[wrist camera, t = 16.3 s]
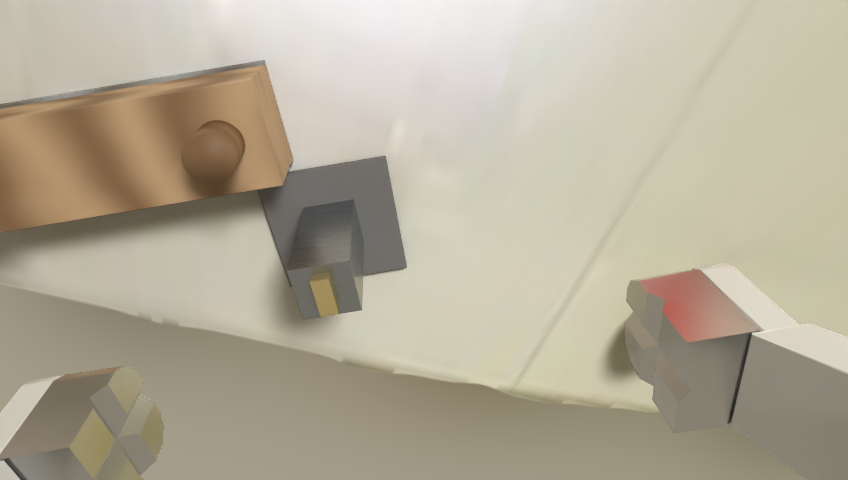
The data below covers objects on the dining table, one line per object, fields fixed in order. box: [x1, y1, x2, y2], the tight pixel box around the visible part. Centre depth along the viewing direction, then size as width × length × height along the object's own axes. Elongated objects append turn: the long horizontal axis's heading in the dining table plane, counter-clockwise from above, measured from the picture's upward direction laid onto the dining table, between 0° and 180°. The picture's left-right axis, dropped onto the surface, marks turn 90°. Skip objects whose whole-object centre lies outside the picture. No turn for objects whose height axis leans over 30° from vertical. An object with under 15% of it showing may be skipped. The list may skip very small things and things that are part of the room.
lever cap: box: [287, 199, 364, 320], centre depth 37 cm, size 4×4×10 cm
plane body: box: [0, 60, 293, 232], centre depth 33 cm, size 22×7×9 cm, turn 98°
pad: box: [258, 156, 407, 287], centre depth 42 cm, size 10×10×1 cm
